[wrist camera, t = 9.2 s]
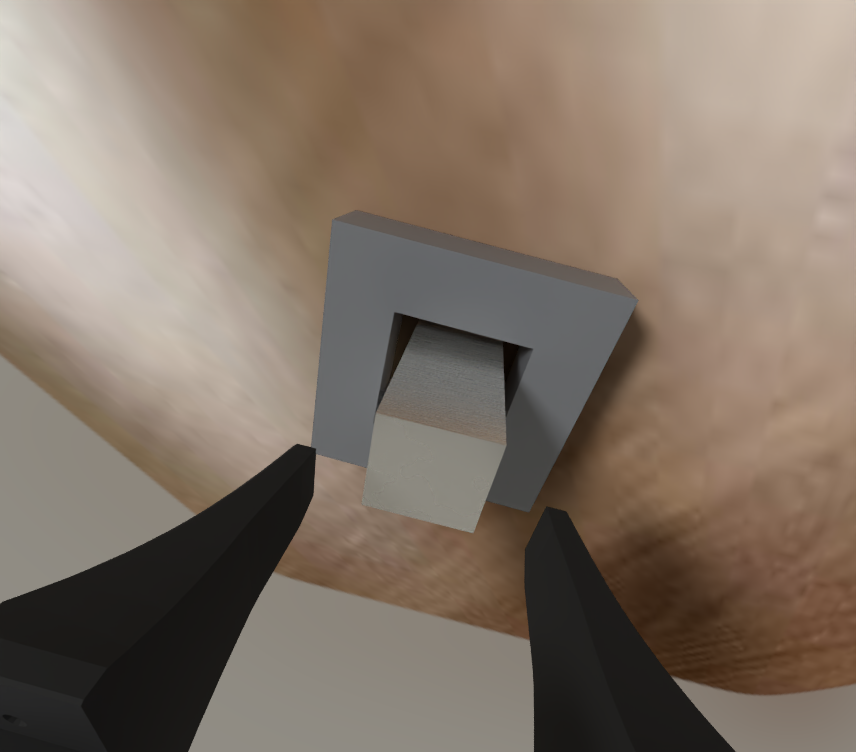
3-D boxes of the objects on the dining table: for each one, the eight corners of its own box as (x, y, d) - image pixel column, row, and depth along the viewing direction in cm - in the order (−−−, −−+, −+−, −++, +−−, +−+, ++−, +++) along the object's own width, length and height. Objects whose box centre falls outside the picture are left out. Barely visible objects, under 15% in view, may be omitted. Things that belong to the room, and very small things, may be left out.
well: (617, 278, 18) (638, 300, 15) (525, 473, 24) (529, 512, 21) (356, 210, 18) (332, 219, 15) (330, 420, 24) (310, 452, 21)
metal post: (502, 329, 20) (506, 445, 12) (481, 396, 22) (473, 533, 14) (423, 311, 20) (375, 413, 12) (409, 379, 22) (361, 504, 14)
